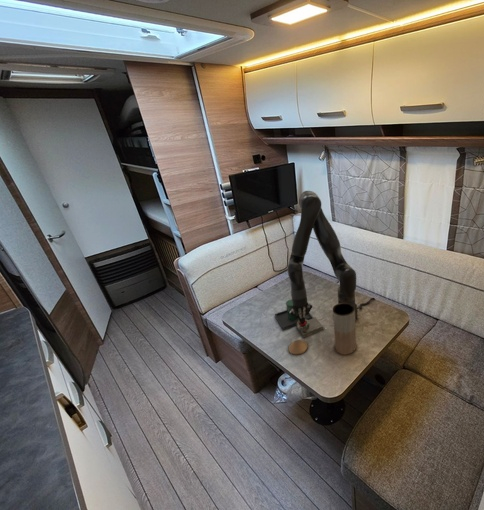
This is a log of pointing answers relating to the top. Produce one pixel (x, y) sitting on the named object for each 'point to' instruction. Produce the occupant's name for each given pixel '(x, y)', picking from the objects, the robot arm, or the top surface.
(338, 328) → the planter
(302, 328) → the box
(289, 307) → the green peg
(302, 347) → the trivet
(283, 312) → the baking tray
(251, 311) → the top surface
